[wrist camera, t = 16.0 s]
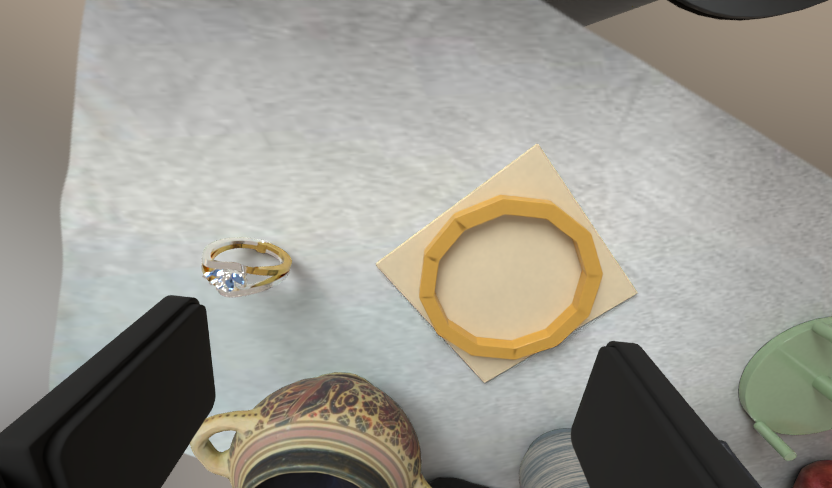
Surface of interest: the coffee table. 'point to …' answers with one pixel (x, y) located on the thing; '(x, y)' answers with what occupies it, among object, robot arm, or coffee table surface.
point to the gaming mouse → (453, 483)
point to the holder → (791, 384)
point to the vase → (552, 463)
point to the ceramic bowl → (316, 439)
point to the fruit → (815, 475)
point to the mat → (508, 264)
